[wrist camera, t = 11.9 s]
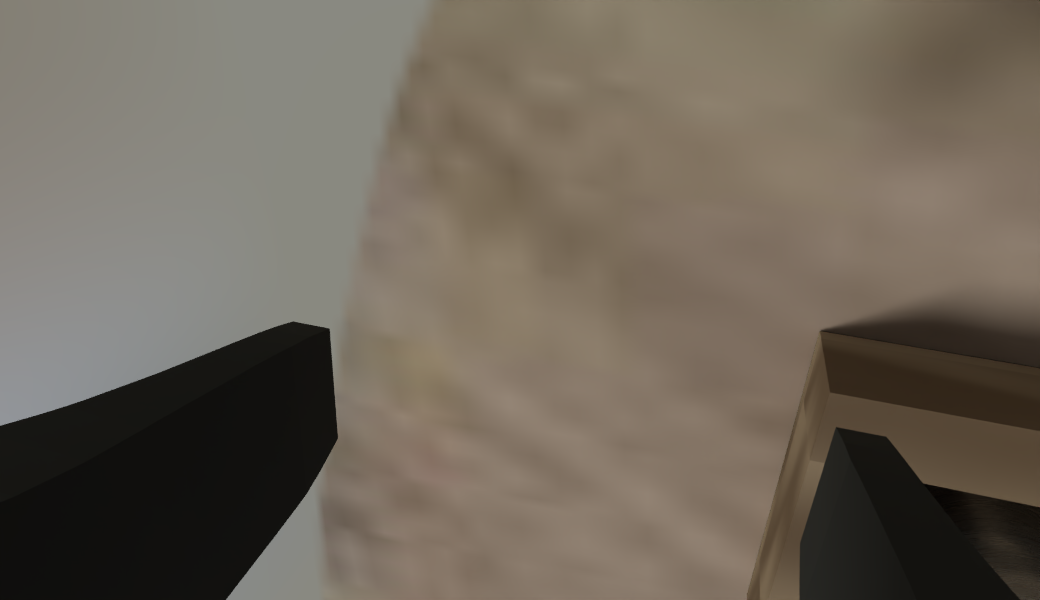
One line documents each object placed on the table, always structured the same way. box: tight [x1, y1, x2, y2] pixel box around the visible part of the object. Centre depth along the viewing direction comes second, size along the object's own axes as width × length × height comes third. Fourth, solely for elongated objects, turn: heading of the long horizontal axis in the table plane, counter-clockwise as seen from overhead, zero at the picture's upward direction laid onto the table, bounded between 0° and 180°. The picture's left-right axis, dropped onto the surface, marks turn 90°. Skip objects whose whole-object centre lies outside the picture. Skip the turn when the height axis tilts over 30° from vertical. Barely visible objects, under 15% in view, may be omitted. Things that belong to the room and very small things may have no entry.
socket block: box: [747, 331, 1040, 600], centre depth 20 cm, size 10×10×3 cm
